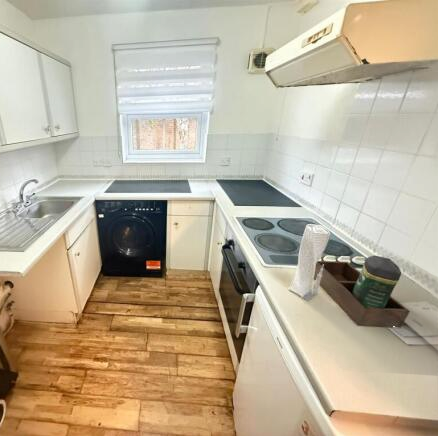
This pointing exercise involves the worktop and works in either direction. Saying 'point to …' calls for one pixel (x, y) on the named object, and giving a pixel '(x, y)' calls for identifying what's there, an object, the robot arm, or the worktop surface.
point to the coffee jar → (376, 282)
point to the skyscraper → (309, 261)
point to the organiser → (341, 293)
